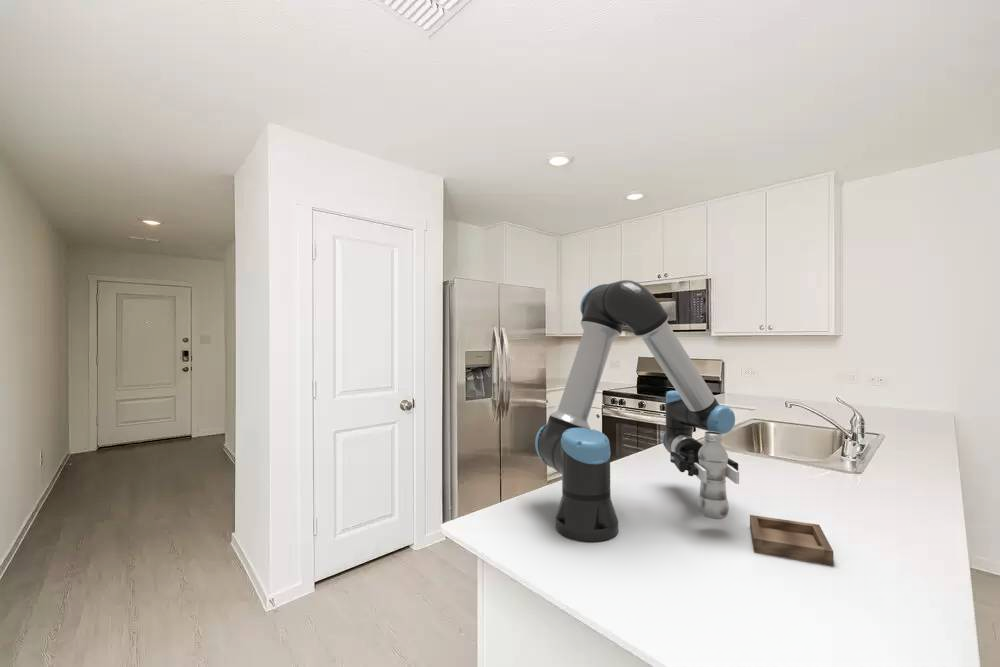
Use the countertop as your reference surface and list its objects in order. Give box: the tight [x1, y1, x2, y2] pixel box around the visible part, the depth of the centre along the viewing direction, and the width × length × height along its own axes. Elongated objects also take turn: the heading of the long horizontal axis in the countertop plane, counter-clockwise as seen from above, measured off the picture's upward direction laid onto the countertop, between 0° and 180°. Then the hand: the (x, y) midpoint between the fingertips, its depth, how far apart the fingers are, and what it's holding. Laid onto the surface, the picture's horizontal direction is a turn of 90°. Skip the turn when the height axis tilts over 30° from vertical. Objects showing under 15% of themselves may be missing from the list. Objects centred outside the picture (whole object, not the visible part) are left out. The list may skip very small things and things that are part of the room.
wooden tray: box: [749, 514, 835, 567], centre depth 100 cm, size 14×14×3 cm
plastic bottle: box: [697, 431, 730, 520], centre depth 106 cm, size 6×7×20 cm
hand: (721, 477), depth 101 cm, fingers closed on plastic bottle, 6 cm apart
